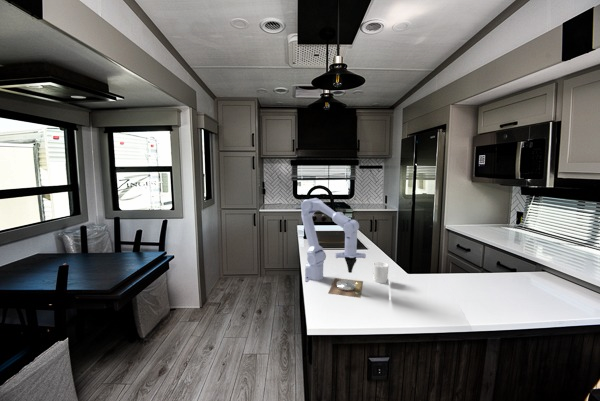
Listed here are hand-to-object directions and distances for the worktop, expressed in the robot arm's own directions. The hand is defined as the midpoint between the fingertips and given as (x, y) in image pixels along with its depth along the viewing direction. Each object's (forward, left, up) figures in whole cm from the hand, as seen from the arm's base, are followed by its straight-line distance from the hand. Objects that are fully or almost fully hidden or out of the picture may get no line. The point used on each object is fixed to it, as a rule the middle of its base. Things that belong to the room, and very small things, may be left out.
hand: (349, 271), depth 136 cm
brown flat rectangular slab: (-1, 0, -9) cm, 9 cm away
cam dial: (0, -2, -8) cm, 8 cm away
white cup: (+15, +13, -10) cm, 22 cm away
